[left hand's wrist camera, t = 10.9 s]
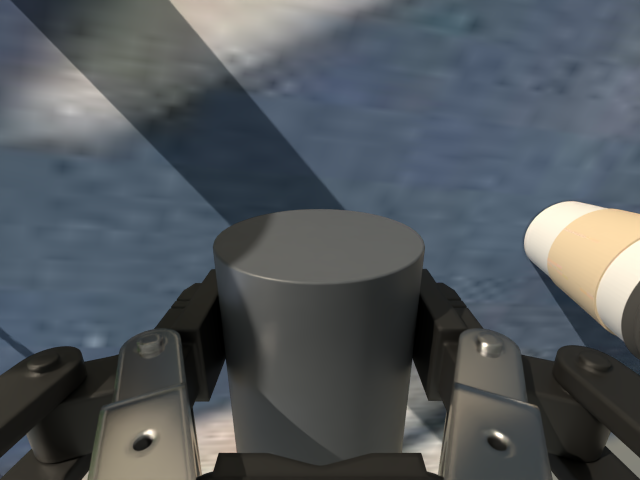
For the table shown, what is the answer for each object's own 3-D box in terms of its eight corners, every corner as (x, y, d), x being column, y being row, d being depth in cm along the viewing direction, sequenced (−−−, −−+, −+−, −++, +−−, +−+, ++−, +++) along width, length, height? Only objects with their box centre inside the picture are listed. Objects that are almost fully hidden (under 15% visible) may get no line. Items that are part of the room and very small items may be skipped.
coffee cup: (614, 263, 33) (833, 374, 19) (519, 290, 34) (660, 415, 20) (609, 174, 30) (863, 228, 16) (505, 207, 31) (658, 285, 17)
